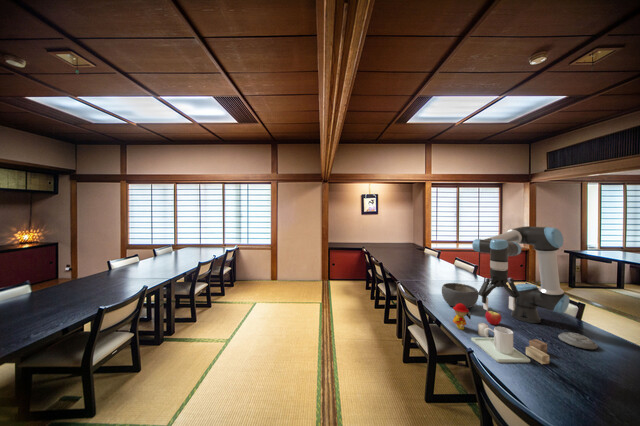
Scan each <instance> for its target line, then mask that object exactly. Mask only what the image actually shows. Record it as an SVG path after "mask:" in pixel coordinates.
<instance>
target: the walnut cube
mask: <svg viewBox="0 0 640 426" xmlns="http://www.w3.org/2000/svg"><path fill="white" fill-rule="evenodd" d="M528 344H529V345H528V347H530V346H533V347H535V348H537V349H538V350H540V351H542V352H544V353H546V354H547V355H548V343H546V342H543V341H542V340H540V339H535V338H534V339H531V340H529V343H528Z"/></svg>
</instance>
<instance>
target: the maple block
mask: <svg viewBox="0 0 640 426" xmlns="http://www.w3.org/2000/svg"><path fill="white" fill-rule="evenodd" d="M525 356H528V358H529V357H530V359H533V360H535V361H536V362H538V363H540V365H549V364H550V355H549V354H548V353H547V354H546V353H544V352H542V351H540V350H538V349H537V348H535V347H533V346H530V347H529V346H525Z"/></svg>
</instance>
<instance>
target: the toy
mask: <svg viewBox="0 0 640 426" xmlns="http://www.w3.org/2000/svg"><path fill="white" fill-rule="evenodd" d="M452 309H453V310H454V313H455V315H454V317H453V319H452V322H453V323H454V324H455V325H456V327H457V328H458V330H463V331H464V330H465V326H466V325H467V321H466V318H465V316H466V317H467V318H468V319H469V320H470V321H471V315H472V314H471V313H472V312H471V311H470V310H469V308H466V306H465V305H464V304H461V303H458V304H456V306H455V307H453V306H452Z"/></svg>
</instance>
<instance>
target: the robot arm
mask: <svg viewBox="0 0 640 426" xmlns="http://www.w3.org/2000/svg"><path fill="white" fill-rule="evenodd" d="M471 244H472V249H473V251H475V252H477V253H478V252H479V253H484V254H489V257H490V258H489V267H490V268H489V276H490V278H487V277H484V278H483V282H482V284H481V287H480V289H479V291H478V295H479V297H481V303H482V304H483V305H482V306H483V307H482V308H483V310H486V311H489V297H488V296H489V295H490V294H491V293H492V292H493V290H494V289H496V288H503V289H504V290H505V291H506V292H507V293H508V294H509V296H508V309H509V310H511V317H512V318H514V319H515V320H518V321H520V322H525V323H530V324H540V323H541V317H540V314H539V311H538V308H540V309H541V308H542V309H544V310H548V311H551V312H553V313H558V314H559V313H560V314H563V313H565V312H566V311H567V309H568V308H569V305H570V296H569V295H567V294H565V291H564V289H563V288H561V284H560V276H559V265H558V258H557V257H558V256H557V252H558V251H559V250H560V248H562V247H563V245H564V236H563V233H562V232H561V230H560V229H559V228H556V227H548V226H526V225H525V226H520V227H514V228H511V229H508V230H506V231H505V232H504V233H500V234H498V235H495V236H492V237H489V238H484V239H481V238H479V239H478V238H475V239H474V240H473V241H472V243H471ZM520 244H521V245H522V244H523V245H530V246H532V247H533V250H535V252H536V253H537V261H538V270H539V279H540V286H539V287H538V286H537V285H536V284H533V283H531V284H530V283H517V284H515V282H514V281H515V280H514V279H513V278H512V277H509V270H508V269H509V257H515V256H518V255H520V254H521V252H522V247H521V245H520Z"/></svg>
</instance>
